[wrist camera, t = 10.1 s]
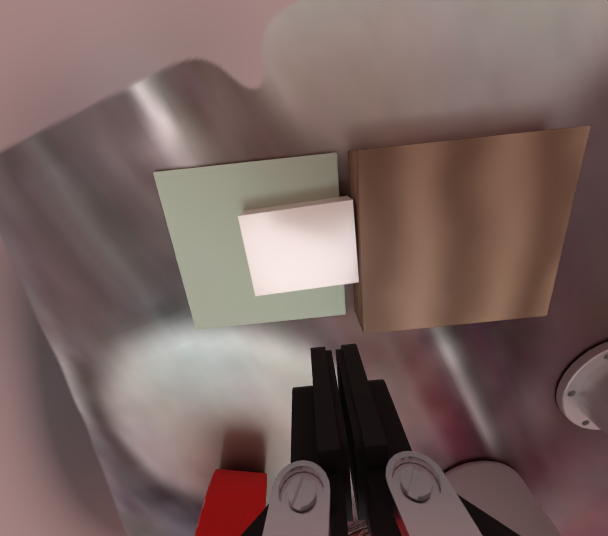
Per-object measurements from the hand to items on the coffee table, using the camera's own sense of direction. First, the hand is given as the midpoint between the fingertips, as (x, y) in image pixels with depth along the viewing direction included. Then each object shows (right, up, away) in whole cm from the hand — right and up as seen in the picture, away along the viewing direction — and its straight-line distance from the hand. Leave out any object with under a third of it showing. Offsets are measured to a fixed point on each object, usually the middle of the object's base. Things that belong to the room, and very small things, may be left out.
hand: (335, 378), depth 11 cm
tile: (-1, +6, +14) cm, 15 cm away
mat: (-5, +6, +16) cm, 18 cm away
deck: (+11, +7, +16) cm, 21 cm away
